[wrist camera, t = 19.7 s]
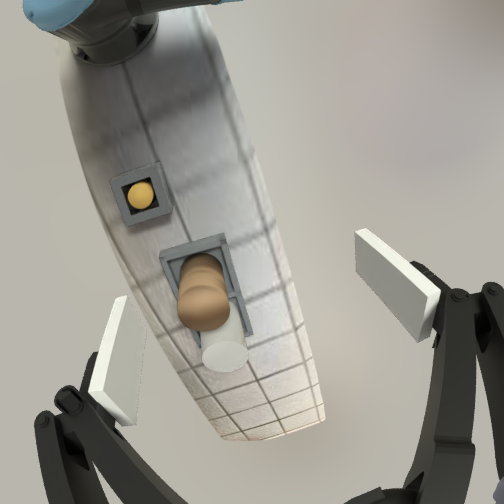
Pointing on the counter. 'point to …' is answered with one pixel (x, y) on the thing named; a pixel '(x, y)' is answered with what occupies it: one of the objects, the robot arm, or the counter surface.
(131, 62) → the counter surface
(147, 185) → the button
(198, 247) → the grey divided tray
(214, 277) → the ball
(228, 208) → the counter surface
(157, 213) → the grey square holder
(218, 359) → the white stubby cylinder
